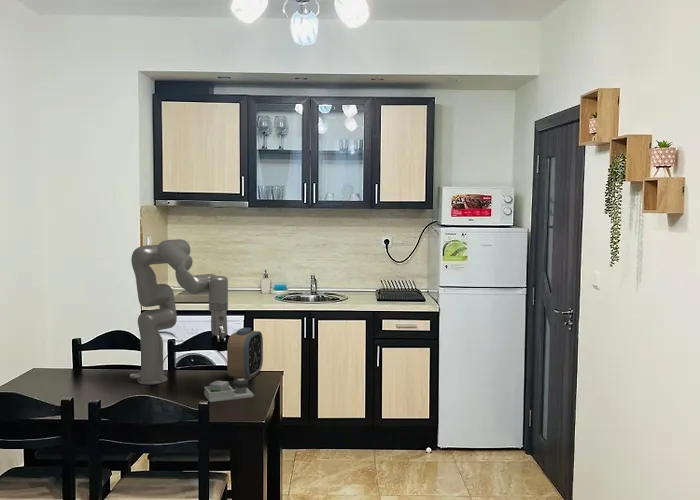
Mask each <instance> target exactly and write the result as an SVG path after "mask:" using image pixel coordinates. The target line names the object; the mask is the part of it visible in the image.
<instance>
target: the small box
mask: <svg viewBox="0 0 700 500" xmlns="http://www.w3.org/2000/svg"><path fill="white" fill-rule="evenodd" d="M229 385H230V381H226V380H225V381H224V380H215V381H213V382H211V383H209V386H210V392H220V391H229Z"/></svg>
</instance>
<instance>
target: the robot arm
mask: <svg viewBox="0 0 700 500" xmlns="http://www.w3.org/2000/svg"><path fill="white" fill-rule="evenodd" d="M190 254H191V246H190V244H189V243H188V241H186V240H185V239H182V238H181V239H179V238H177V239H165V240H162V241H161V242H160V243H158V244H151V245H150V244H149V245H141V246H138V247H136V248H135V249H134V250H133V252H132V254H131V257H130V258H131V259H130V260H131V261H130V262H131V267H132V269H133V272H134V273H133V274H134V275H135V283H136V285H135V286H136V289H137V297H138V303H139V304H140V305H141V306H142V307H144V308H151V307H159V308H153V309H149V310H145V311H143V312H141V313H140V314H138V317H137V326H138V330H139V331H138V332H139V338H140V339H139V340H140V343H139V344H140V370H139V372H137V373H129V379H135V380H136V379H137V383H138V384H140V385H148V386H149V385H158V384H163V383H165V382H167V381H168V376H166V375H164V373H165V372H164V340H163V337H162V335H161V333H160V331H163V330H168V329H172V328H173V327H175V326H176V324H177V319H178V315H177V314H178V313H177V309H176V307H177V306H176V300H175V295H174V294H175V293H174V290H173V289H172V286H170V285H169V284H167V283H158V282H157V276H156V273H155V271H154V269H153V268H152V267H151V265H161V264H168V265H169V266H170V268H172V269H173V270H174V271H175V278H176V281H177V284H178V285H179V286H180V287H181V288H182V289H183V290H185V291H186V292H187V293H189V294H190V295H198V294H207V293H208V312H210V313H211V314H210V331H211V333H212V334H211V347H215V348H216V351H217V353H220V352H221V353H222V352H226V336H228V317H227V311H229V279H228V277H226V276H224V275H216V274H213V273H203V274H196V275H194V274H191V272H189V270H190V269H191V268H192V265H193V264H194V263H193V258H192V256H191V255H190Z"/></svg>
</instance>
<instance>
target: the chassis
mask: <svg viewBox="0 0 700 500" xmlns="http://www.w3.org/2000/svg"><path fill="white" fill-rule="evenodd" d="M203 387H204V392H203V393H204V394H203V395H204V397H205V398H206V399H207V400H208V402H209V401H210V402H209V403H213V402H221V401H229V400H230V401H231V400H240V399H248V398H254V397H255V394H254V393H253V392H252V391H251V390H250V389H249V388H248V387H247V386H244V387H236V386H235V389H234V388H233V387H232V386H231V385H230V384H229V391H220V392H210V385H207V386H203Z"/></svg>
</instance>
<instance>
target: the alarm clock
mask: <svg viewBox="0 0 700 500" xmlns="http://www.w3.org/2000/svg"><path fill="white" fill-rule="evenodd" d="M226 345H227V347H226V359H227V361H226V364H227V365H226V366H227V374H228V376H229V377H232V378H233V379H237V378H246V379H248V381H251V380H252V379H254V378H255V377H256V376H257V375H258V374H259V372H260V371H261V370H262V367H263V362H264V361H263V360H264V346H263V345H264V338H263V334H262V332H261V331H260V330H258V331H257V330H252V327H242V328H239V329H238V330H236V331H235V332H234V333H232V334H230V336H229V338H228V340H227V344H226Z"/></svg>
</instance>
